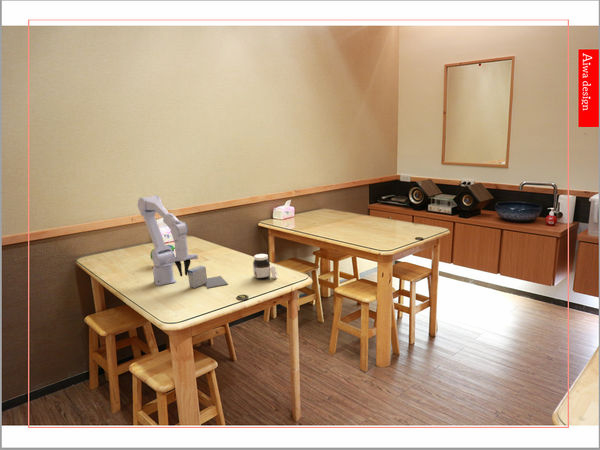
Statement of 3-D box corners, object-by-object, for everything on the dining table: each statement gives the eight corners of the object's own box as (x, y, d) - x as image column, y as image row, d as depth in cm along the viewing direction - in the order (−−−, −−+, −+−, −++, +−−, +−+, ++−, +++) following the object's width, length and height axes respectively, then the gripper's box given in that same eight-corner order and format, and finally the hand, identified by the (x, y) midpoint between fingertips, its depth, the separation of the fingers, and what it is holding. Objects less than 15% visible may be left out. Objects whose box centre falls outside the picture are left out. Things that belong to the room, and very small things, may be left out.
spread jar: (252, 275, 230) (250, 254, 227) (272, 272, 234) (271, 251, 231) (259, 283, 219) (258, 260, 216) (280, 279, 223) (279, 257, 220)
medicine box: (202, 281, 223) (199, 264, 220) (207, 282, 220) (205, 266, 218) (189, 286, 217) (186, 269, 214) (195, 288, 214) (192, 271, 212)
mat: (208, 288, 214) (208, 287, 214) (201, 280, 225) (201, 279, 225) (228, 284, 218) (228, 283, 218) (220, 276, 230) (220, 275, 229)
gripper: (167, 252, 204) (170, 280, 207) (198, 247, 210) (200, 275, 213) (164, 249, 210) (167, 276, 214) (195, 244, 217) (197, 271, 220)
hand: (183, 275), depth 214 cm, fingers closed
